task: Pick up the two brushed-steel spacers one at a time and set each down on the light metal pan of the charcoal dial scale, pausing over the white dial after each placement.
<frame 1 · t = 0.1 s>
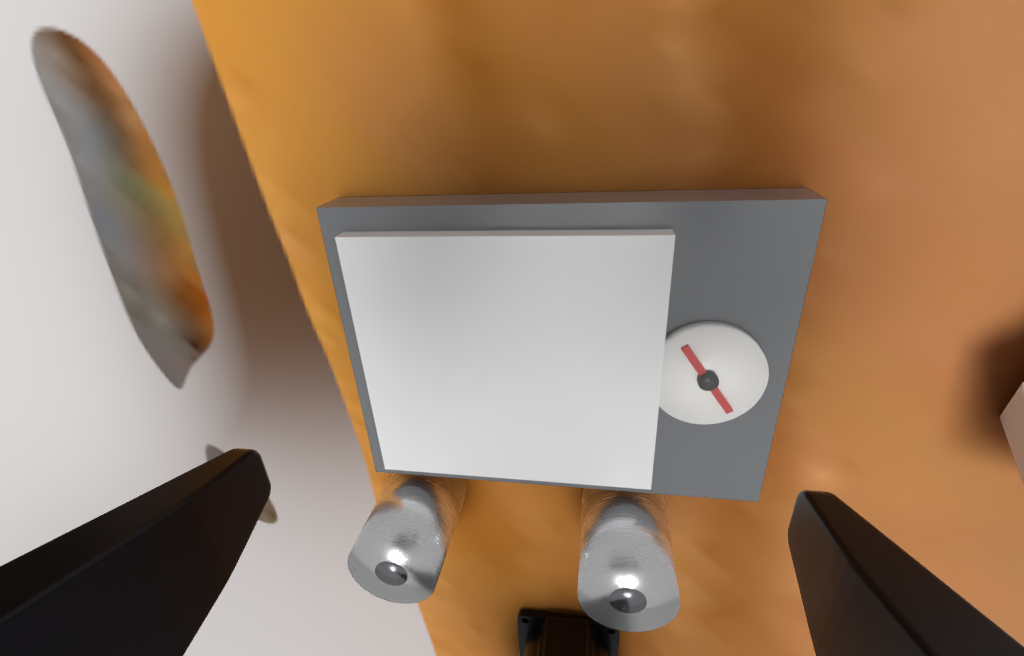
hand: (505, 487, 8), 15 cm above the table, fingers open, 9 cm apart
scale: (556, 343, 23), on the table
spacer 1: (430, 482, 29), on the table
spacer 2: (622, 498, 27), on the table
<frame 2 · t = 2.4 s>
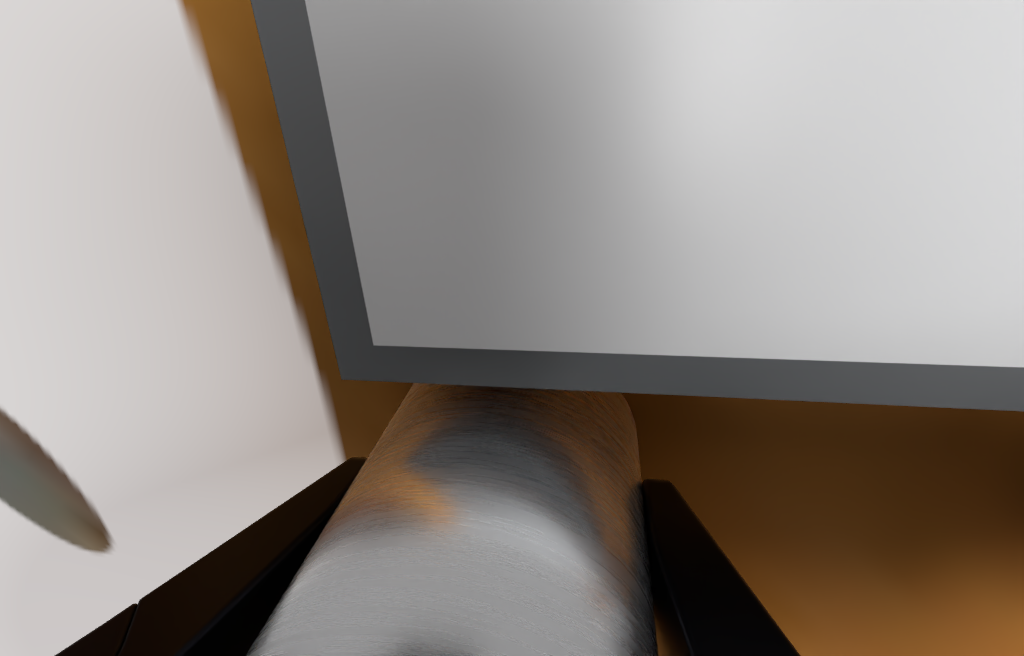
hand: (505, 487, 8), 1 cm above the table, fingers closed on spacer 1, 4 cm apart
spacer 1: (517, 439, 9), on the table, touching gripper
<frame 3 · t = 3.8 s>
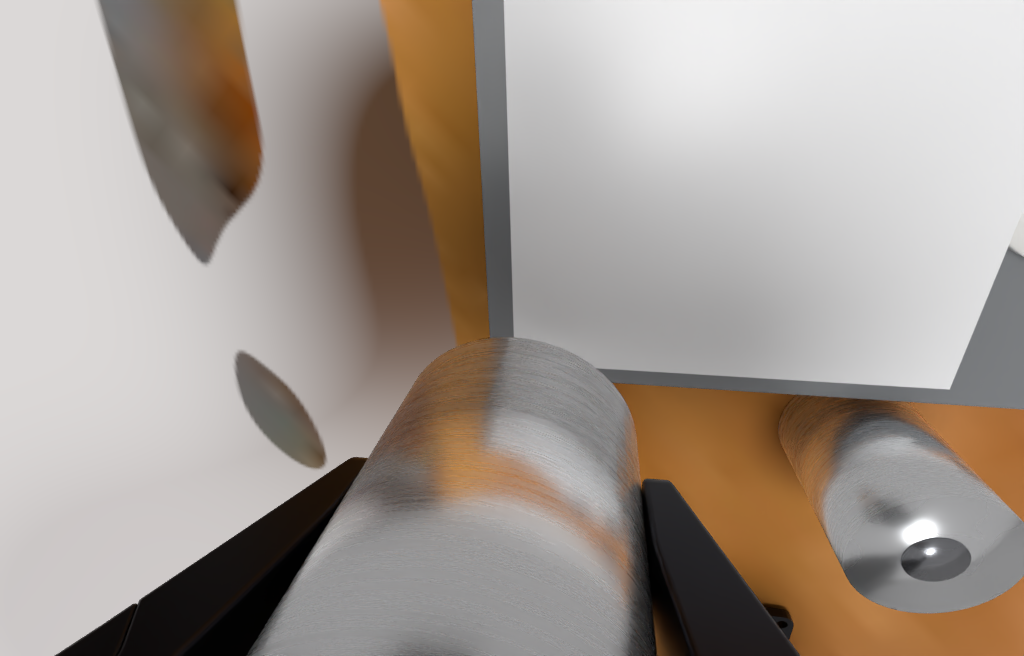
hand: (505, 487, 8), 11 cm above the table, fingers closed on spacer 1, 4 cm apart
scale: (796, 165, 15), on the table
spacer 1: (516, 440, 9), point 10 cm above the table, touching gripper
spacer 2: (841, 425, 19), on the table
when the fingers open (5 cm above the table, at t = 5.5 s): spacer 1 drops 1 cm, resting on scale.
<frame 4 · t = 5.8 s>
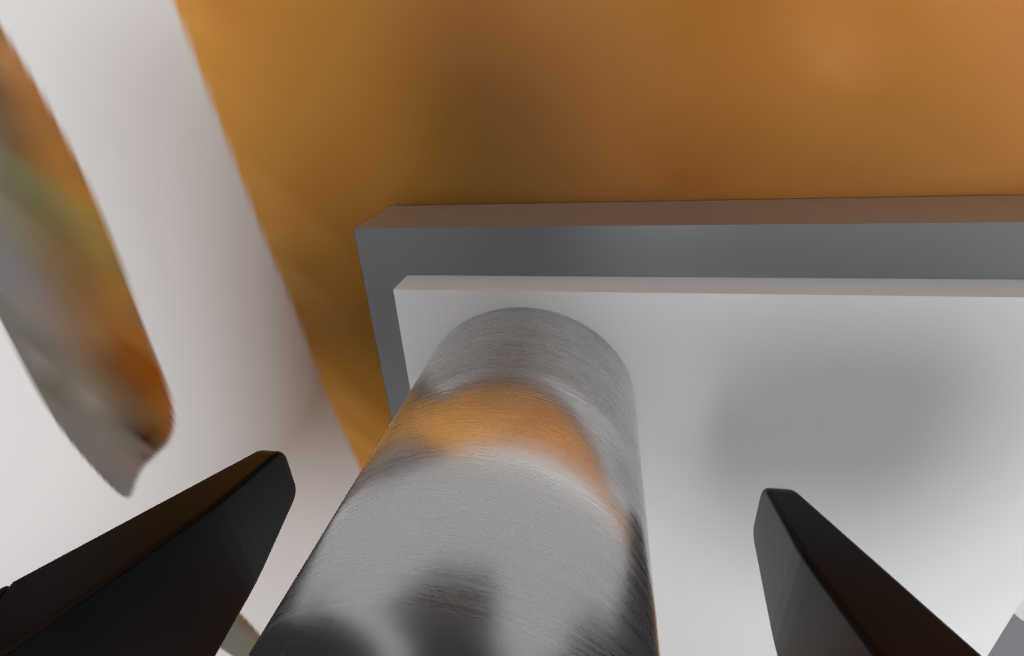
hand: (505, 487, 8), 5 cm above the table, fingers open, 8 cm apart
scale: (765, 460, 13), on the table
spacer 1: (526, 403, 10), point 3 cm above the table, touching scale
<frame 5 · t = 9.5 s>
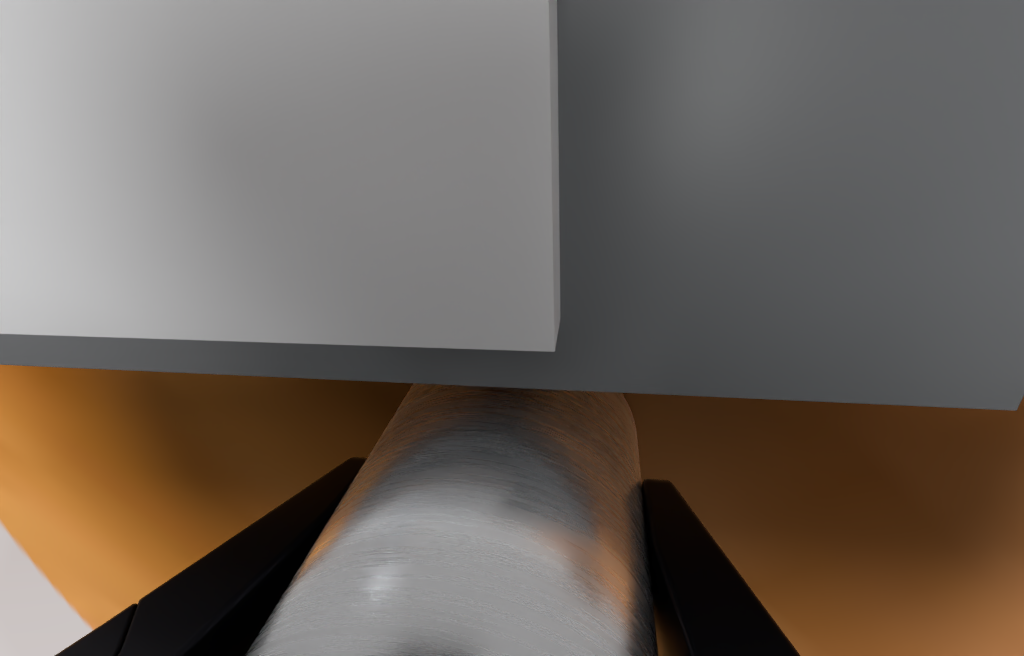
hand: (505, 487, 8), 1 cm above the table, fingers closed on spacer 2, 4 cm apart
spacer 2: (516, 438, 9), on the table, touching gripper
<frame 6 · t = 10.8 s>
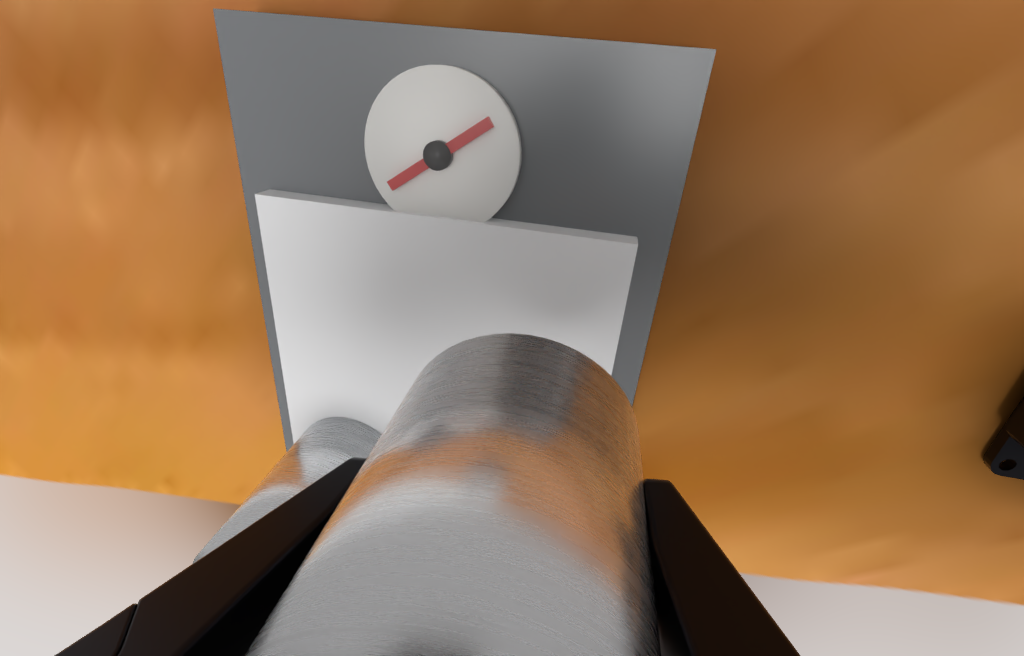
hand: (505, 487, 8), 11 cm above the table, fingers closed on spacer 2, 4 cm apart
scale: (458, 313, 19), on the table
spacer 1: (351, 461, 20), point 3 cm above the table, touching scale
spacer 2: (518, 437, 9), point 10 cm above the table, touching gripper
when the fingers open (5 cm above the table, at t = 12.2 s): spacer 2 drops 1 cm, resting on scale.
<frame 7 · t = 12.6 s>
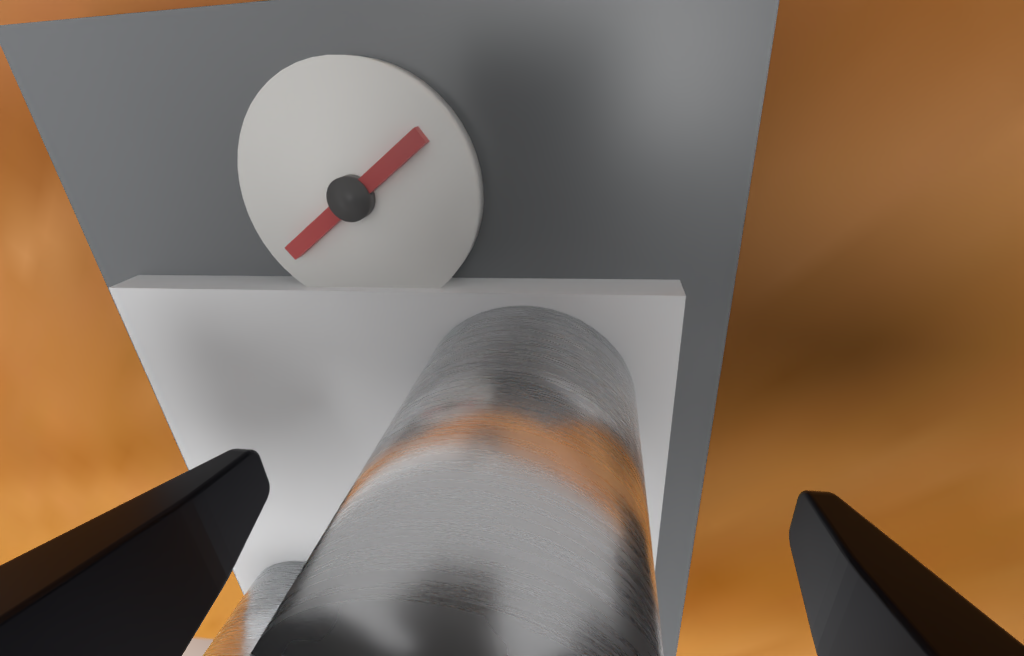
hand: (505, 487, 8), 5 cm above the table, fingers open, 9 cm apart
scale: (436, 399, 14), on the table
spacer 1: (322, 611, 15), point 3 cm above the table, touching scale
spacer 2: (527, 401, 10), point 3 cm above the table, touching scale
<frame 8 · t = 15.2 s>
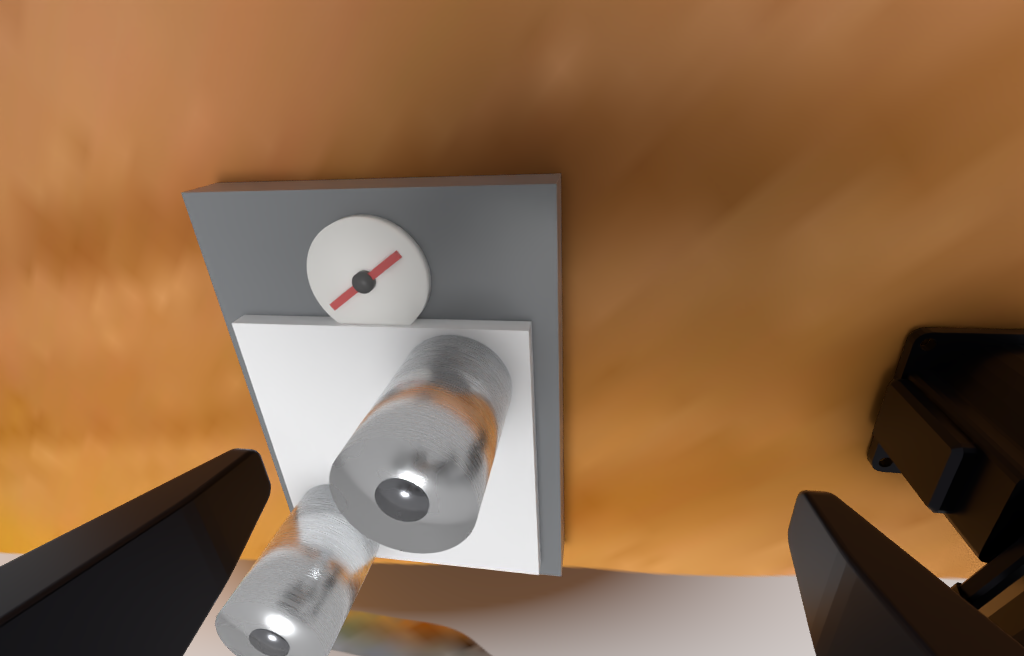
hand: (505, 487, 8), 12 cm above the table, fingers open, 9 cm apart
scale: (413, 386, 23), on the table
spacer 1: (343, 518, 24), point 3 cm above the table, touching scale
spacer 2: (457, 384, 19), point 3 cm above the table, touching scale
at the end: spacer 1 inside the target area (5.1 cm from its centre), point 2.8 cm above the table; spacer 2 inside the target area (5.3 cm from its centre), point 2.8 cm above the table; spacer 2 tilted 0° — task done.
